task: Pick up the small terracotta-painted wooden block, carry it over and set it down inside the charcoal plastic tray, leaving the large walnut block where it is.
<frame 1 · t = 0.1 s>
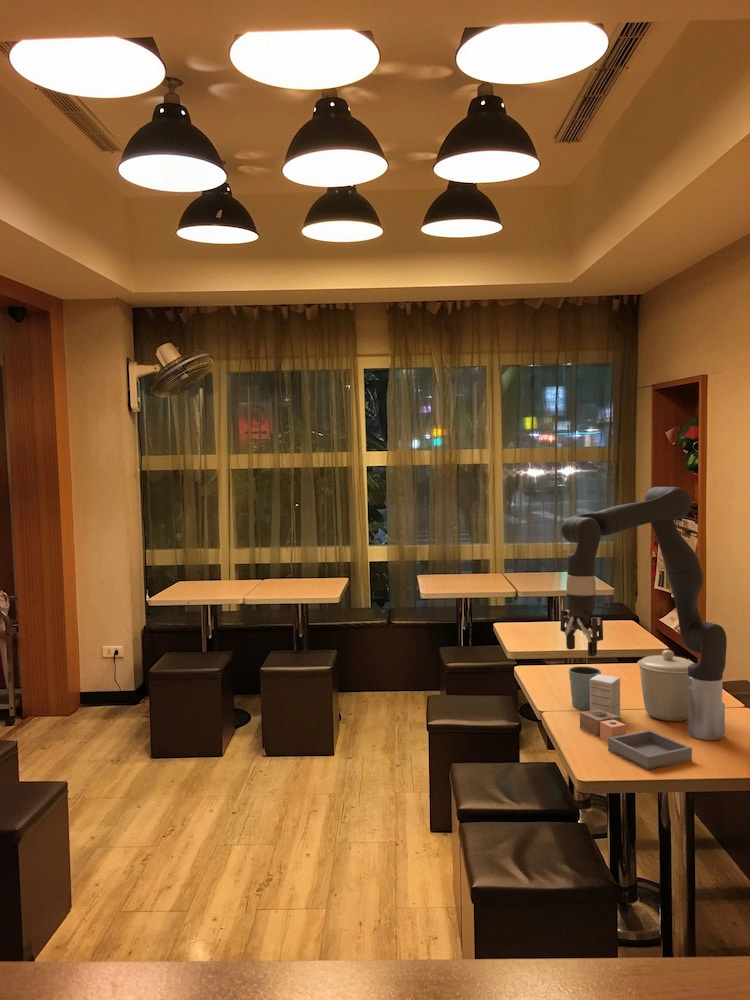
hand: (581, 652, 188), 29 cm above the table, tool pointing down, fingers open, 8 cm apart
teal cup: (584, 706, 234), on the table
walnut block: (599, 730, 211), on the table
terracotta block: (612, 740, 203), on the table
canister: (667, 716, 223), on the table
supplement box: (604, 718, 222), on the table
charcoal tray: (649, 755, 192), on the table
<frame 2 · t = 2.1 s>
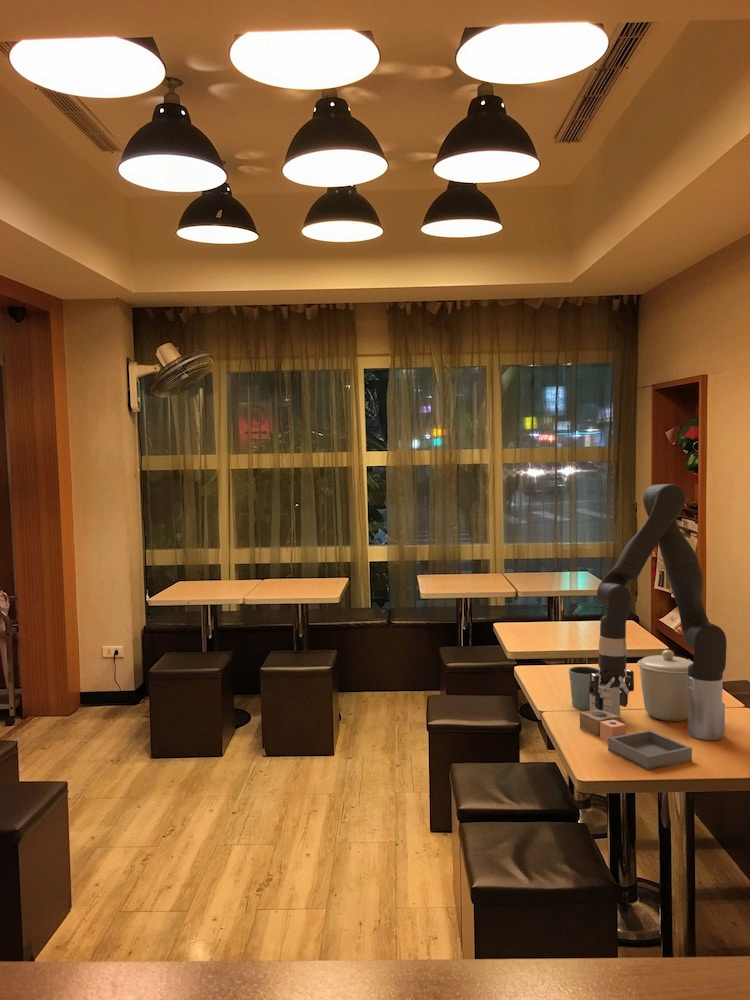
hand: (611, 707, 203), 9 cm above the table, tool pointing down, fingers open, 8 cm apart
nothing on the table moved.
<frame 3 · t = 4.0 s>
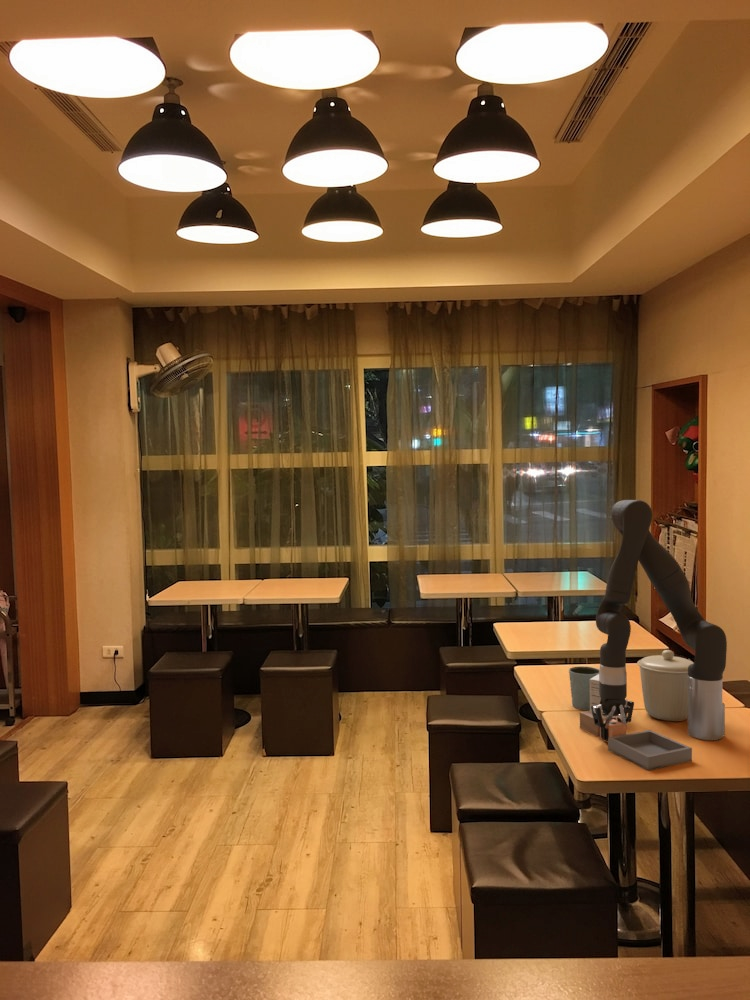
hand: (612, 738, 203), 0 cm above the table, tool pointing down, fingers closed on terracotta block, 5 cm apart
terracotta block: (612, 740, 203), on the table, touching gripper
everything else where it was.
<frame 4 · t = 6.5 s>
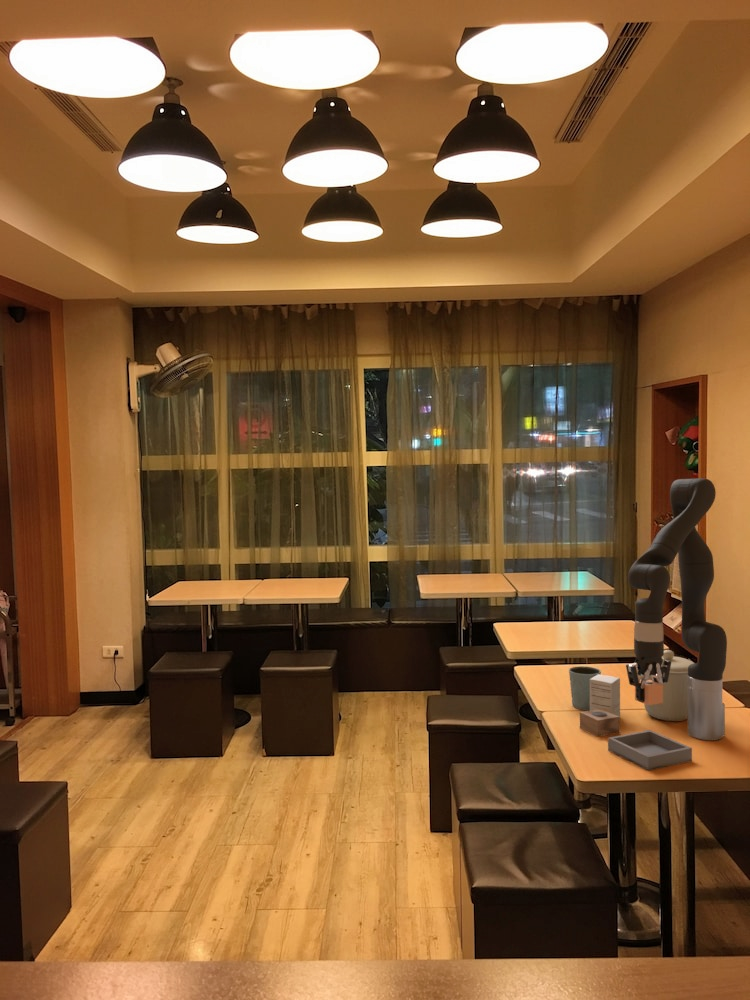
hand: (648, 699, 191), 15 cm above the table, tool pointing down, fingers closed on terracotta block, 5 cm apart
terracotta block: (648, 701, 191), point 15 cm above the table, touching gripper
everything else where it was.
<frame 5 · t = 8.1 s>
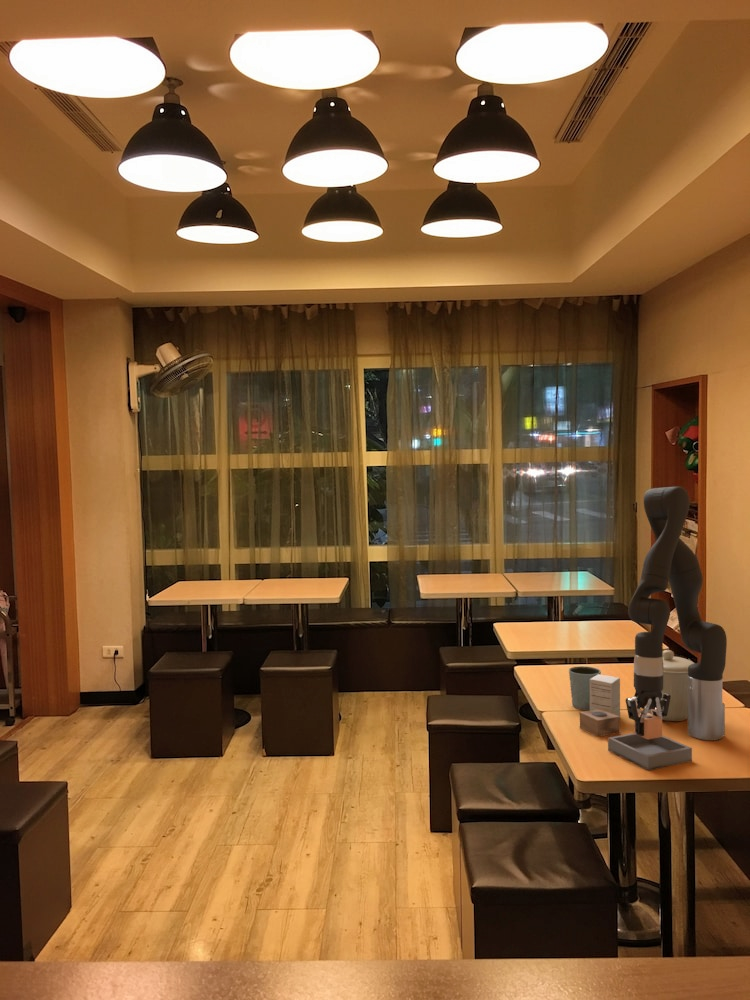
hand: (648, 733, 192), 6 cm above the table, tool pointing down, fingers closed on terracotta block, 5 cm apart
terracotta block: (648, 735, 192), point 6 cm above the table, touching gripper
everything else where it was.
when the fingers open (4 cm above the table, at t = 9.4 s): terracotta block drops 3 cm, resting on charcoal tray.
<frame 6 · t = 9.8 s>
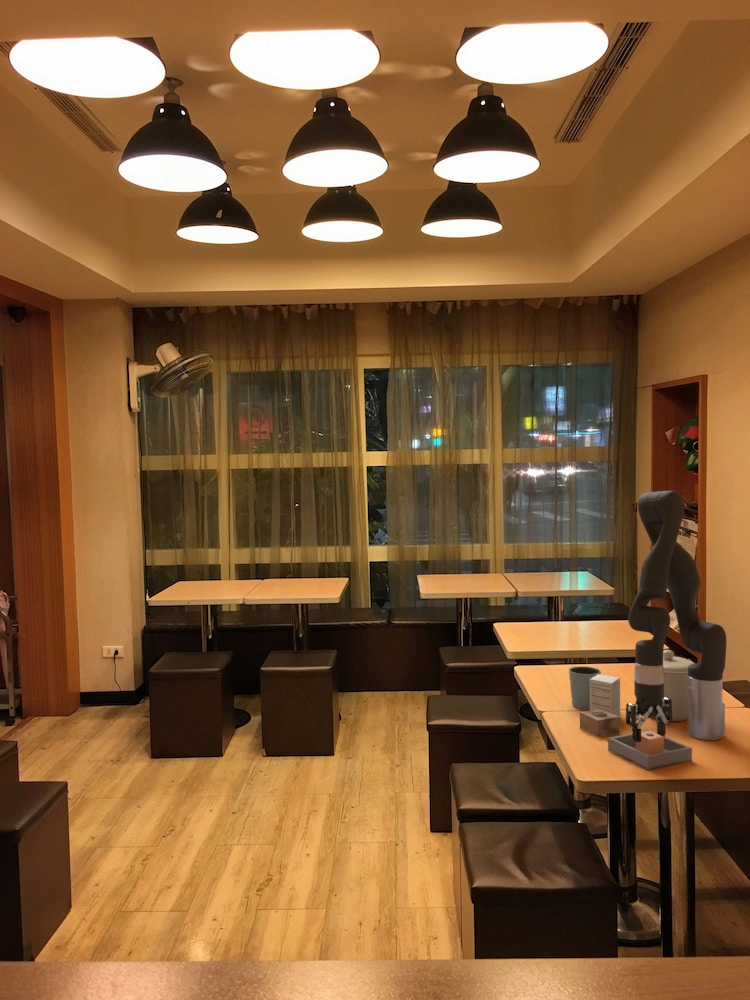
hand: (649, 738, 192), 5 cm above the table, tool pointing down, fingers open, 8 cm apart
terracotta block: (649, 753, 192), point 1 cm above the table, touching charcoal tray
everything else where it was.
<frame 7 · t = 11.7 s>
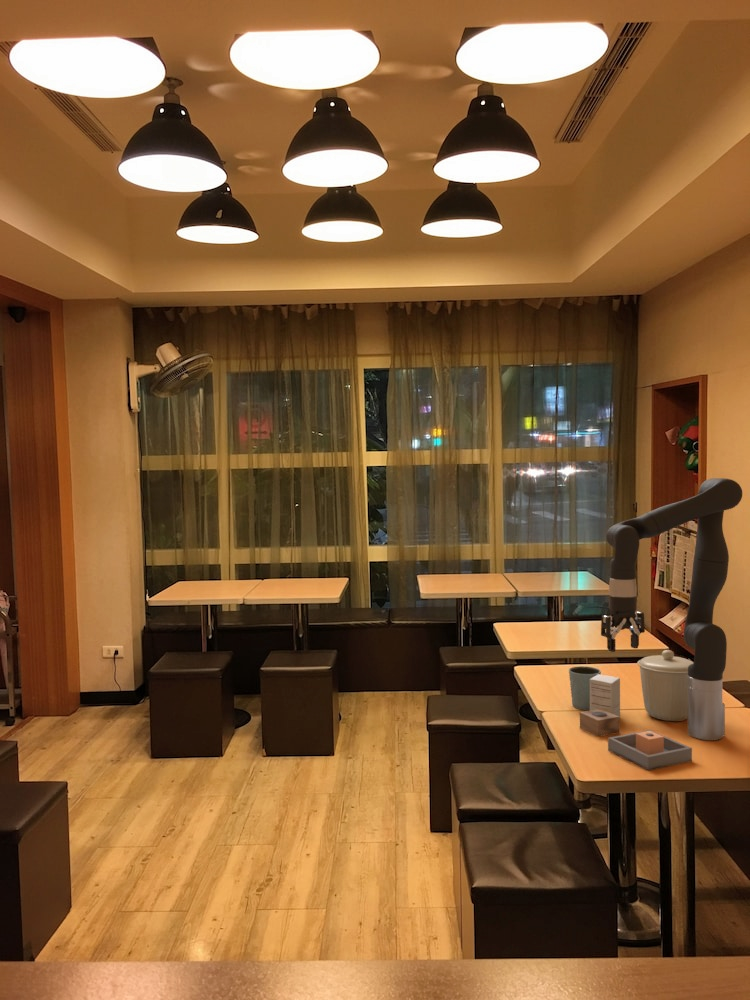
hand: (623, 649, 204), 26 cm above the table, tool pointing down, fingers open, 8 cm apart
nothing on the table moved.
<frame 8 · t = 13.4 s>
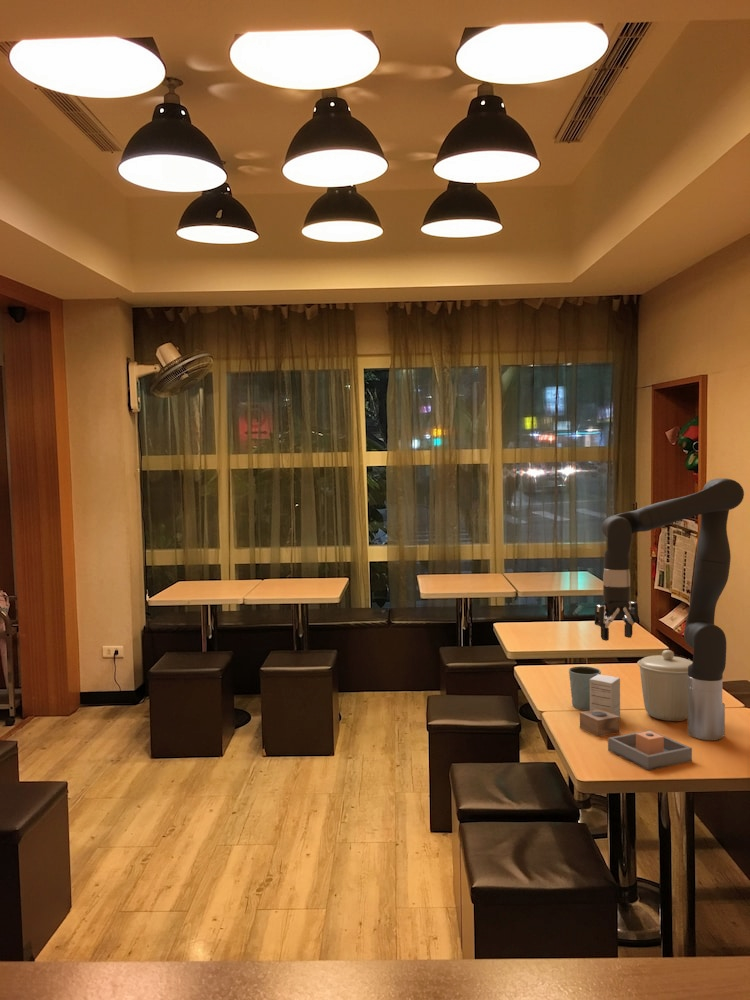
hand: (616, 638, 208), 28 cm above the table, tool pointing down, fingers open, 8 cm apart
nothing on the table moved.
at the end: terracotta block inside the target area on the charcoal tray (0.2 cm from its centre), point 0.6 cm above the charcoal tray's base; terracotta block tilted 0°; walnut block moved 0.3 cm from its start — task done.
